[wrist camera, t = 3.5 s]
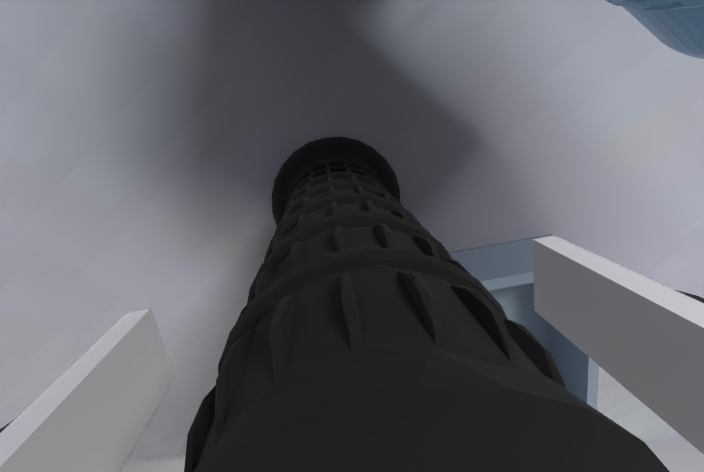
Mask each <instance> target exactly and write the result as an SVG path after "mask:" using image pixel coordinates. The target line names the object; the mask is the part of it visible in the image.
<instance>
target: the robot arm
mask: <svg viewBox="0 0 704 472" xmlns="http://www.w3.org/2000/svg"><path fill="white" fill-rule="evenodd" d="M606 1H608V2H610V3H612V4H614V5H617V6H622V7H624V8H625V9H626V10H627V11H628V12H629V13H630V14H631V15H632V16H633V17H635V18H636V19H637V20H638V21H639V22H640V23H641V24H642V25H643V26H644V27H646V28H647V29H648V30H649V31H650V32H651V33H652V34H653V35H654V36H656V37H657V38H658V39H659V40H660V41H661V42H662V43H664V44H665V45H667V46H668V47H670V48H672V49H673V50H675V51H678V52H680V53H683V54H685V55H689V56H693V57H696V58H701V59H704V0H606ZM533 264H534V311H535V312H537V313H538V314H539V315H540V316H541V317H543V318H544V319H545V320H546V321H547V322H548V323H550V324H551V325H552V326H553V327H554V328H556V329H557V330H558V331H559V332H560V333H561V334H563V335H564V336H565V337H566V338H567V339H568V340H570V341H571V342H572V343H573V344H574V345H576V346H577V347H578V348H579V349H580V350H581V351H583V352H584V353H585V354H586V355H587V356H588V357H590V358H591V359H592V360H593V361H594V362H596V363H597V364H598V365H599V366H600V367H601V368H603V369H604V370H605V371H606V372H607V373H608V374H610V375H611V376H612V377H613V378H614V379H616V380H617V381H618V382H619V383H620V384H621V385H623V386H624V387H625V388H626V389H627V390H629V391H630V392H631V393H632V394H633V395H634V396H636V397H637V398H638V399H639V400H640V401H641V402H643V403H644V404H645V405H646V406H647V407H649V408H650V409H651V410H652V411H653V412H654V413H656V414H657V415H658V416H659V417H660V418H661V419H663V420H664V421H665V422H666V423H667V424H669V425H670V426H671V427H672V428H673V429H674V430H676V431H677V432H678V433H679V434H680V435H681V436H683V437H684V438H685V439H686V440H687V441H689V442H690V443H691V444H692V445H693V446H694V447H696V448H697V449H698V450H699V451H700V452H702V453H703V454H704V299H703V298H701V297H699V296H696V295H692V294H688V293H685V292H681V291H677V290H673V289H671V288H669V287H667V286H664V285H662V284H660V283H658V282H656V281H653V280H651V279H649V278H647V277H645V276H642V275H640V274H638V273H636V272H634V271H631V270H629V269H627V268H625V267H623V266H621V265H618V264H616V263H614V262H612V261H610V260H607V259H605V258H603V257H601V256H599V255H596V254H594V253H592V252H590V251H588V250H585V249H583V248H581V247H579V246H577V245H574V244H572V243H570V242H568V241H566V240H563V239H561V238H559V237H557V236H549V237H544V238H538V239H533ZM174 378H175V377H174V374H173V371H172V368H171V365H170V363H169V360H168V357H167V354H166V351H165V349H164V346H163V343H162V340H161V337H160V335H159V332H158V329H157V326H156V323H155V321H154V318H153V315H152V312H151V309H145V310H139V311H134V312H128V313H126V314H125V315H124V316H123V317H122V318H121V319H120V320H119V321H118V322H117V323H116V324H115V325H114V326H112V327H111V328H110V329H109V330H108V331H107V332H106V333H105V334H104V335H103V336H102V337H101V338H100V339H99V340H98V341H97V342H96V343H95V344H94V345H92V346H91V347H90V348H89V349H88V350H87V351H86V352H85V353H84V354H83V355H82V356H81V357H80V358H79V359H78V360H77V361H76V362H75V363H74V364H72V365H71V366H70V367H69V368H68V369H67V370H66V371H65V372H64V373H63V374H62V375H61V376H60V377H59V378H58V379H57V380H56V381H55V382H54V383H53V384H51V385H50V386H49V387H48V388H47V389H46V390H45V391H44V392H43V393H42V394H41V395H40V396H39V397H38V398H37V399H36V400H35V401H34V402H33V403H31V404H30V405H29V406H28V407H27V408H26V409H25V410H24V411H23V412H22V413H21V414H20V415H19V416H18V417H17V418H16V419H14V420H13V421H12V422H10V423H9V424H7V425H6V426H4V427H3V428H1V429H0V472H120V471H121V469H122V467H123V466H124V464H125V462H126V460H127V459H128V457H129V455H130V454H131V452H132V450H133V448H134V447H135V445H136V443H137V442H138V440H139V438H140V437H141V435H142V433H143V431H144V430H145V428H146V426H147V425H148V423H149V421H150V419H151V418H152V416H153V414H154V413H155V411H156V409H157V407H158V406H159V404H160V402H161V401H162V399H163V397H164V395H165V394H166V392H167V390H168V389H169V387H170V385H171V383H172V382H173V380H174Z"/></svg>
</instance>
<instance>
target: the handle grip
mask: <svg viewBox="0 0 704 472" xmlns="http://www.w3.org/2000/svg"><path fill="white" fill-rule="evenodd" d="M272 210H273V215H274V218H275V221H276V224H277V229H276V232H275V235H274V237H273V238H272V240H271V242H270V245H269V248H268V251H267V253H266V256H265V259H264V263H263V264H262V265H261V267H260V269H259V271H258V273H257V275H256V277H255V279H254V281H253V284H252V286H251V288H250V291H249V297H248V303H247V306H246V307H245V308H243V310H242V312H241V314H240V316H239V318H238V320H237V323H236V324H235V326H234V327H233V329H232V330H231V332H230V334H229V337H228V340H227V343H226V345H225V348H224V351H223V354H222V357H221V359H220V362H219V365H218V377H217V380H216V385H215V387H214V388H213V389H212V390H211V391H210V392H209V393H208V395H207V396H206V397H205V398H204V400H203V401H202V403H201V406H200V408H199V410H198V412H197V415H196V417H195V419H194V421H193V424H192V426H191V428H190V430H189V433H188V438H187V449H186V459H185V469H184V472H669V471H668V469H667V468H666V467H665V466H664V465H663V463H662V462H661V461H660V460H659V459H658V458H657V457H656V455H655V454H654V453H653V452H652V451H651V450H650V448H649V447H648V446H647V445H646V444H645V443H644V442H643V441H642V440H640V439H639V438H637V437H636V436H634V435H633V434H631V433H630V432H628V431H627V430H625V429H624V428H622V427H621V426H619V425H618V424H616V423H615V422H614V421H612V420H611V419H609V418H608V417H606V416H605V415H603V414H602V413H600V412H599V411H597V410H596V409H594V408H593V407H591V406H590V405H588V404H587V403H585V402H584V401H582V400H581V399H579V398H578V397H577V396H575V395H574V394H572V393H571V392H569V391H568V390H566V387H565V384H564V381H563V379H562V377H561V375H560V373H559V370H558V368H557V366H556V364H555V362H554V360H553V358H552V355H551V353H550V352H549V351H548V350H547V349H546V348H545V347H544V346H543V345H542V344H541V343H540V342H539V341H538V340H537V339H536V338H535V337H534V336H533V335H532V334H531V333H530V332H529V331H528V330H527V329H526V328H525V327H524V326H523V325H521V324H518V323H516V322H514V321H511V320H509V319H508V318H507V316H506V314H505V312H504V310H503V308H502V306H501V305H500V303H499V302H498V301H497V300H496V299H495V298H494V297H493V296H492V295H491V293H490V292H489V291H488V290H487V289H486V288H485V287H484V286H483V284H482V283H481V282H480V281H479V280H478V279H476V278H475V277H473V276H471V274H470V273H469V272H468V271H467V270H466V269H465V268H464V267H463V266H462V265H461V264H460V263H459V262H458V261H456V260H453V258H452V257H451V256H450V254H449V253H448V252H447V250H446V249H445V248H444V246H443V245H442V244H441V243H440V242H439V241H437V240H436V239H435V238H434V237H433V236H432V235H431V234H430V233H429V232H428V231H427V230H426V229H424V228H423V227H422V225H421V224H420V223H419V222H418V221H417V220H416V218H415V217H414V216H413V215H412V214H411V213H410V212H409V211H407V210H406V209H404V208H403V206H402V205H401V204H400V193H399V186H398V183H397V180H396V176H395V173H394V172H393V170H392V169H391V167H390V166H389V164H388V163H387V161H386V160H385V158H383V157H382V156H381V155H380V154H379V153H378V152H377V151H376V150H374V149H373V148H372V147H370V146H368V145H366V144H364V143H362V142H360V141H358V140H354V139H349V138H344V137H332V138H323V139H320V140H316V141H313V142H310V143H307V144H306V145H304V146H303V147H301V148H300V149H298V150H297V151H295V152H294V153H293V154H292V155H291V156H290V157H289V159H288V160H287V161H286V162H285V163H284V164H283V166H282V167H281V169H280V171H279V173H278V175H277V177H276V179H275V183H274V188H273V193H272Z"/></svg>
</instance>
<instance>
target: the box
mask: <svg viewBox="0 0 704 472" xmlns="http://www.w3.org/2000/svg"><path fill="white" fill-rule="evenodd" d="M549 236H554V235H552V234H551V235H545V236H540V237H534V238H529V239H523V240H517V241H512V242H506V243H501V244H495V245H489V246H484V247H478V248H473V249H467V250H461V251H456V252H450V253H449V254H450V256H451V257H452V258H453V260H456V261H458V262H459V263H460V264H461V265H462V266H463V267H464V268H465V269H466V270H467V271H468V272H469V273H470V274H471V276H473V277H475V278H476V279H478V280H479V281H480V282H481V283H482V284H483V286H484V287H485V288H486V289H487V290H488V291H489V292H490V293H491V295H492V296H493V297H494V298H495V299H496V300H497V301H498V302H499V303H500V305H501V306H502V308H503V310H504V312H505V314H506V316H507V318H508V319H509V320H511V321H514V322H516V323H518V324H521V325H523V326H524V327H525V328H526V329H527V330H528V331H529V332H530V333H531V334H532V335H533V336H534V337H535V338H536V339H537V340H538V341H539V342H540V343H541V344H542V345H543V346H544V347H545V348H546V349H547V350H548V351H549V352H550V353H551V355H552V358H553V360H554V362H555V364H556V366H557V368H558V370H559V373H560V375H561V377H562V379H563V381H564V384H565V387H566V390H568V391H569V392H571V393H572V394H574V395H575V396H577V397H578V398H579V399H581V400H582V401H584V402H585V403H587V404H588V405H590V406H591V407H593V408H594V409H596V410H597V390H598V369H599V365H598V364H597V363H596V362H594V361H593V360H592V359H591V358H590V357H588V356H587V355H586V354H585V353H584V352H583V351H581V350H580V349H579V348H578V347H577V346H576V345H574V344H573V343H572V342H571V341H570V340H568V339H567V338H566V337H565V336H564V335H563V334H561V333H560V332H559V331H558V330H557V329H556V328H554V327H553V326H552V325H551V324H550V323H548V322H547V321H546V320H545V319H544V318H543V317H541V316H540V315H539V314H538V313H537V312H535V311H534V264H533V239H538V238H544V237H549Z"/></svg>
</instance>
